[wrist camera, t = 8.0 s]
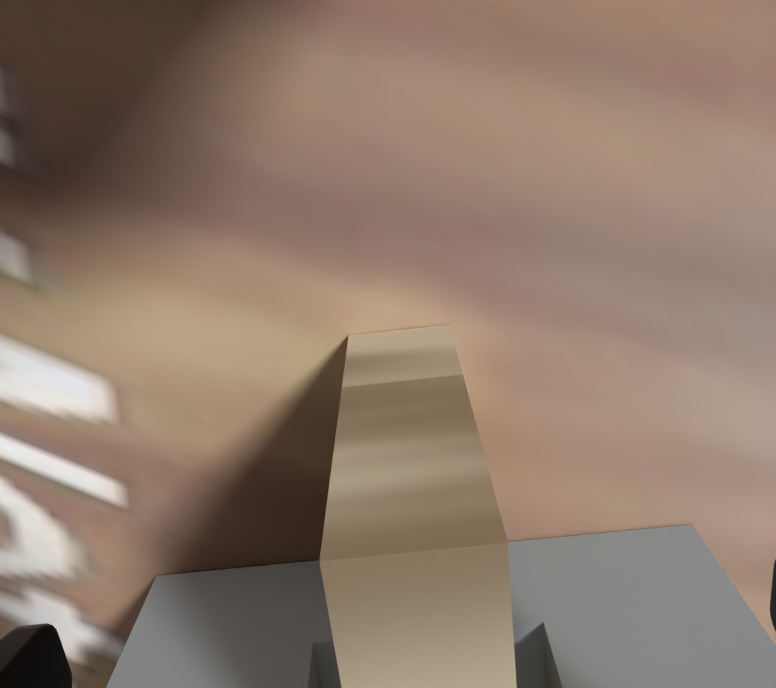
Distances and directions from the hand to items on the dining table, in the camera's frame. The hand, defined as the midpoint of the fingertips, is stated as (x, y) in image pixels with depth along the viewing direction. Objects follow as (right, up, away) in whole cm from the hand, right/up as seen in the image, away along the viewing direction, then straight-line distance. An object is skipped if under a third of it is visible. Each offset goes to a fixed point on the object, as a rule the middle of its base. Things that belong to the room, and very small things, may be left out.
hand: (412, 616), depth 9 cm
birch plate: (+1, -2, +7) cm, 8 cm away
